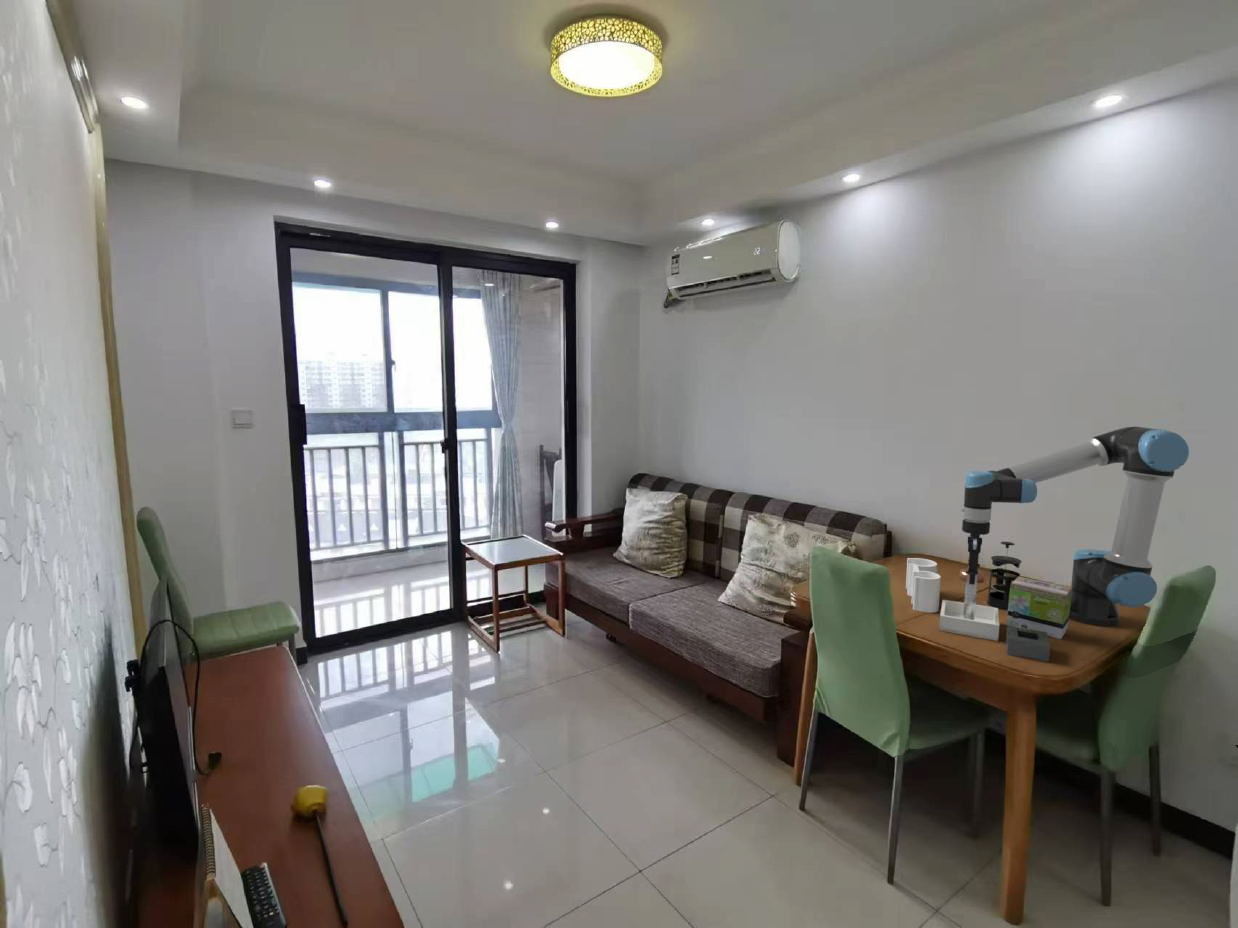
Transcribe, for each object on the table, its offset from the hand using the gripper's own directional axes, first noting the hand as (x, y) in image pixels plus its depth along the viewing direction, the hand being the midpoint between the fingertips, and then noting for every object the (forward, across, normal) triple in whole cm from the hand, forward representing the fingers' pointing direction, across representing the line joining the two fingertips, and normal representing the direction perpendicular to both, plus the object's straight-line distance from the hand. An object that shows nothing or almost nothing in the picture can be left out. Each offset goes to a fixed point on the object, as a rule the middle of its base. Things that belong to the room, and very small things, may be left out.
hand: (971, 589), depth 193 cm
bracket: (+13, -19, -15) cm, 27 cm away
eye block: (+13, +12, +15) cm, 23 cm away
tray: (+13, 0, 0) cm, 13 cm away
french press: (+13, -27, +10) cm, 31 cm away
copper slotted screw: (+10, 0, 0) cm, 10 cm away
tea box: (+13, -9, +19) cm, 25 cm away
